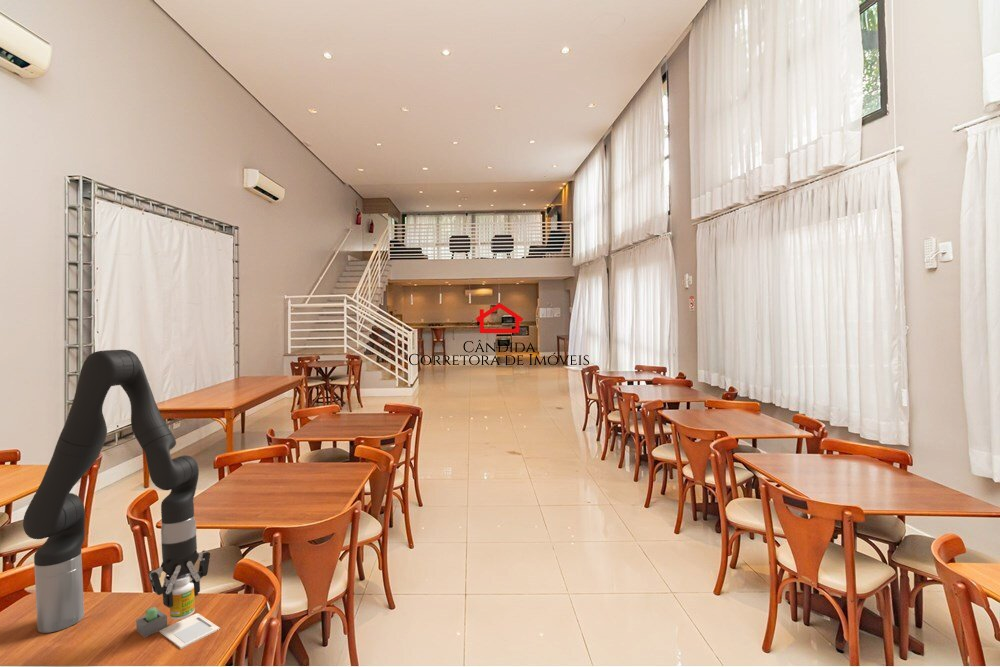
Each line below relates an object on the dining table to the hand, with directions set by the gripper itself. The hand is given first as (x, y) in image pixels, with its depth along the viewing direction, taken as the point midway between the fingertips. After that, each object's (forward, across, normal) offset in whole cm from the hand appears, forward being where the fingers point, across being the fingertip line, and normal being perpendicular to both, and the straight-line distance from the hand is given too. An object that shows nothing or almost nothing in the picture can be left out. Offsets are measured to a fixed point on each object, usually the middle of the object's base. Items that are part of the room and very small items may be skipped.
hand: (182, 600), depth 128 cm
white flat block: (+7, 0, +4) cm, 8 cm away
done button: (+5, +5, -5) cm, 9 cm away
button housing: (+6, +5, -5) cm, 10 cm away
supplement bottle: (+4, 0, 0) cm, 4 cm away
